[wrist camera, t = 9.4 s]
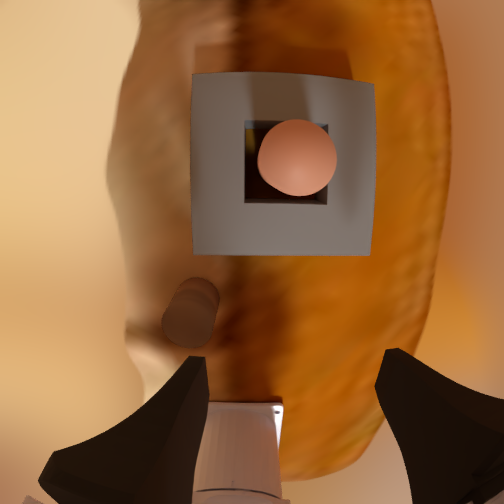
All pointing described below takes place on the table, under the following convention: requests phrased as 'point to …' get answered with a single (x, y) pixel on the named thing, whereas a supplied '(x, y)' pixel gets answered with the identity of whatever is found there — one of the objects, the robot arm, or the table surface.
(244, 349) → the table surface
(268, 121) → the hole block
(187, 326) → the short peg
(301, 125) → the long peg
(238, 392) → the table surface
